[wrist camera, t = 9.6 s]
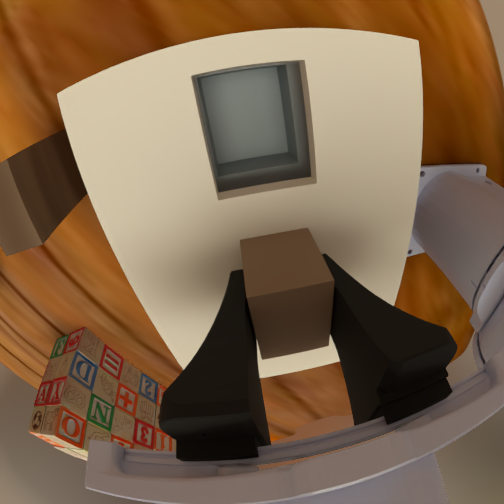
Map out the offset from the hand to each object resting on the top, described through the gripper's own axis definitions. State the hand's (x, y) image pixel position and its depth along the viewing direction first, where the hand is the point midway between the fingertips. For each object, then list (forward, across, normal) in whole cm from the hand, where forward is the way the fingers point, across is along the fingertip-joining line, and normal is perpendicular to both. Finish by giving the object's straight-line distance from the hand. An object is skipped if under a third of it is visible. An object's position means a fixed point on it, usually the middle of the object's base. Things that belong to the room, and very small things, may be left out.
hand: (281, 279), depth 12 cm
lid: (+2, 0, 0) cm, 2 cm away
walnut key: (+6, +11, -7) cm, 15 cm away
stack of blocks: (+7, +19, +19) cm, 28 cm away
